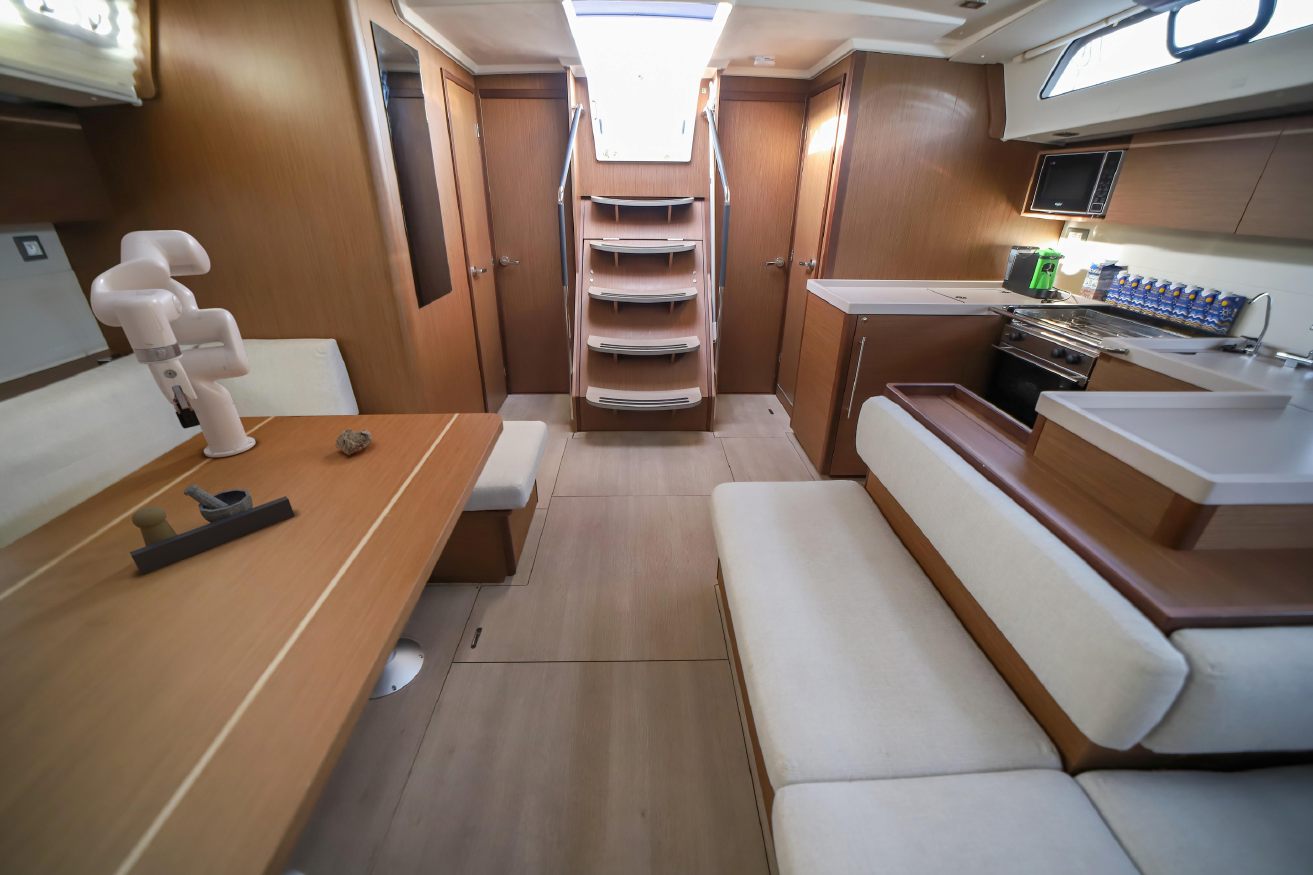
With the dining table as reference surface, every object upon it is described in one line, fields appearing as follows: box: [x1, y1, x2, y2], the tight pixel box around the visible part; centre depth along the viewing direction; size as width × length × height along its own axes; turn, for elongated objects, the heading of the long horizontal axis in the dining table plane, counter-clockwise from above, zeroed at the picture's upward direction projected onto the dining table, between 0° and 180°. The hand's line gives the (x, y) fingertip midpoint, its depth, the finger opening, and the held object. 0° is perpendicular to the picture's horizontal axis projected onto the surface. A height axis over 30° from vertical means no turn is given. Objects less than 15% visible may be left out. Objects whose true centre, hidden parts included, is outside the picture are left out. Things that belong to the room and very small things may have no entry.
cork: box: [131, 505, 178, 546], centre depth 109 cm, size 6×6×11 cm
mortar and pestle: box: [183, 483, 254, 523], centre depth 118 cm, size 11×9×12 cm
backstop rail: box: [129, 495, 295, 576], centre depth 113 cm, size 2×28×5 cm, turn 140°
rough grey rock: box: [335, 428, 373, 456], centre depth 155 cm, size 11×7×10 cm
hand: (191, 425), depth 121 cm, fingers closed
